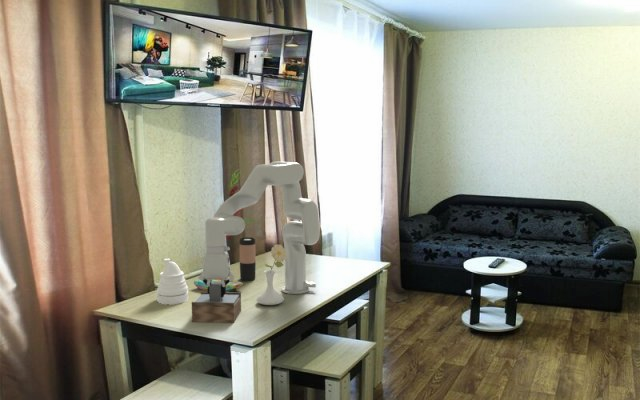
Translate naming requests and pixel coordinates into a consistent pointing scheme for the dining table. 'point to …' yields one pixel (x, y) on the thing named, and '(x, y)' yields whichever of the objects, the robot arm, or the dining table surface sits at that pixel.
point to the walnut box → (216, 310)
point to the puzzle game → (229, 286)
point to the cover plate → (225, 300)
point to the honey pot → (172, 285)
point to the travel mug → (247, 259)
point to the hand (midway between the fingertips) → (216, 295)
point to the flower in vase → (270, 293)
